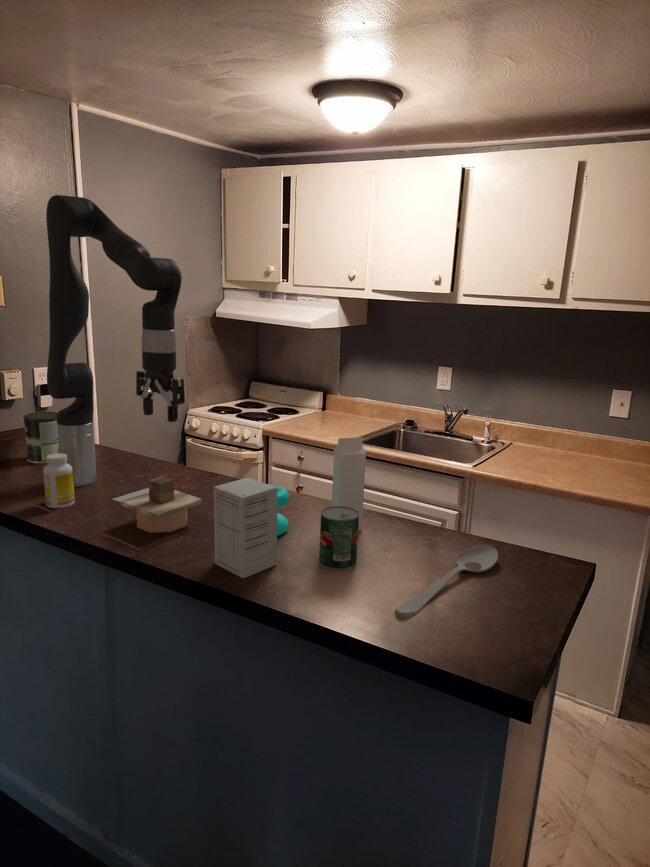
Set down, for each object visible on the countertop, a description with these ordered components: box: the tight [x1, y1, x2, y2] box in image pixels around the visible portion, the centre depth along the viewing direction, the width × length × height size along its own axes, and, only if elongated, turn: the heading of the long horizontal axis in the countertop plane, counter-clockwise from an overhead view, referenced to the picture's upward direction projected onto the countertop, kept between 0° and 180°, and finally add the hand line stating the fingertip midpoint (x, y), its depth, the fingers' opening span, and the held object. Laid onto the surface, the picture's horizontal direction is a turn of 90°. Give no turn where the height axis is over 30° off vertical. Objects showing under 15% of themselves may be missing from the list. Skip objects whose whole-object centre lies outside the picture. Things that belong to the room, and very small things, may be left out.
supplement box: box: [213, 477, 278, 579], centre depth 120 cm, size 10×9×17 cm
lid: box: [120, 475, 203, 519], centre depth 139 cm, size 13×13×6 cm
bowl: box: [135, 509, 188, 534], centre depth 140 cm, size 11×11×5 cm
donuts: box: [270, 484, 290, 537], centre depth 138 cm, size 10×10×10 cm
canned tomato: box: [318, 505, 359, 571], centre depth 124 cm, size 8×8×11 cm
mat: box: [112, 487, 196, 503], centre depth 156 cm, size 15×15×1 cm
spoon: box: [394, 544, 499, 619], centre depth 118 cm, size 35×8×3 cm, turn 139°
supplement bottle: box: [42, 453, 76, 509], centre depth 149 cm, size 7×7×13 cm
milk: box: [331, 436, 367, 531], centre depth 141 cm, size 6×6×22 cm
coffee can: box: [22, 411, 59, 465], centre depth 185 cm, size 10×10×14 cm
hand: (160, 418), depth 140 cm, fingers open, 8 cm apart
